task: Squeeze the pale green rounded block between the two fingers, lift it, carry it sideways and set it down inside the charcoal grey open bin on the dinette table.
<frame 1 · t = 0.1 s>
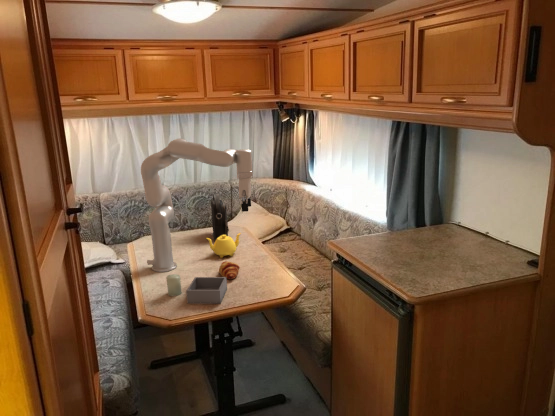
hand: (246, 208, 228), 31 cm above the table, tool pointing down, fingers open, 9 cm apart
bin: (207, 296, 204), on the table
shoulder bag: (220, 237, 287), on the table
pale green rounded block: (174, 293, 208), on the table
croissant: (229, 274, 229), on the table
teapot: (224, 254, 257), on the table
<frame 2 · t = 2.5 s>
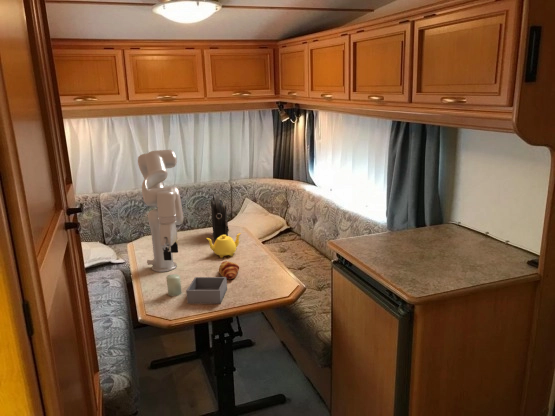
hand: (171, 256, 204), 18 cm above the table, tool pointing down, fingers open, 9 cm apart
nothing on the table moved.
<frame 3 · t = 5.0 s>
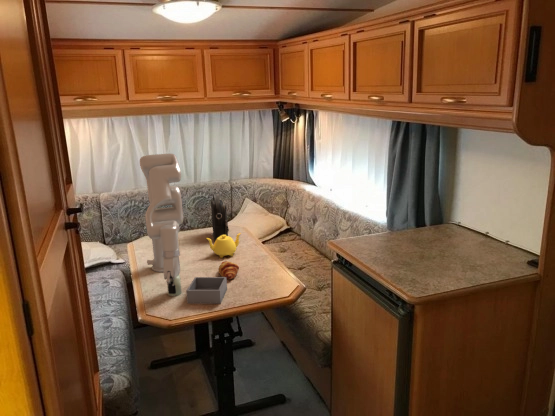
hand: (174, 289, 208), 2 cm above the table, tool pointing down, fingers closed on pale green rounded block, 6 cm apart
pale green rounded block: (174, 293, 208), on the table, touching gripper
everything else where it was.
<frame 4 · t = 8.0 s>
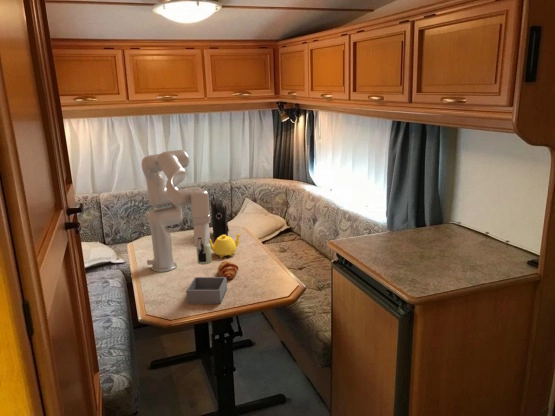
hand: (204, 258, 200), 18 cm above the table, tool pointing down, fingers closed on pale green rounded block, 6 cm apart
pale green rounded block: (204, 262, 200), point 16 cm above the table, touching gripper
everything else where it was.
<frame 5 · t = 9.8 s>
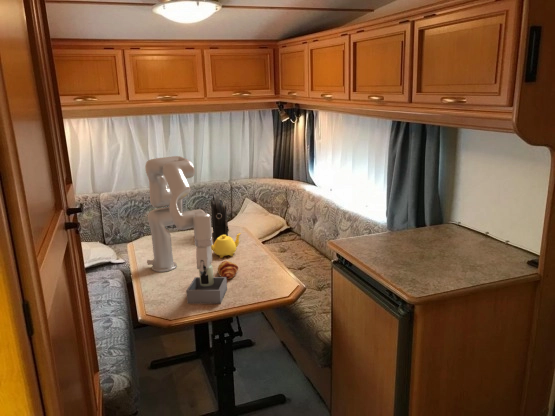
hand: (206, 280, 202), 8 cm above the table, tool pointing down, fingers closed on pale green rounded block, 6 cm apart
pale green rounded block: (207, 283, 203), point 6 cm above the table, touching gripper
everything else where it was.
when the fingers open (5 cm above the table, at t = 11.3 s): pale green rounded block drops 2 cm, resting on bin.
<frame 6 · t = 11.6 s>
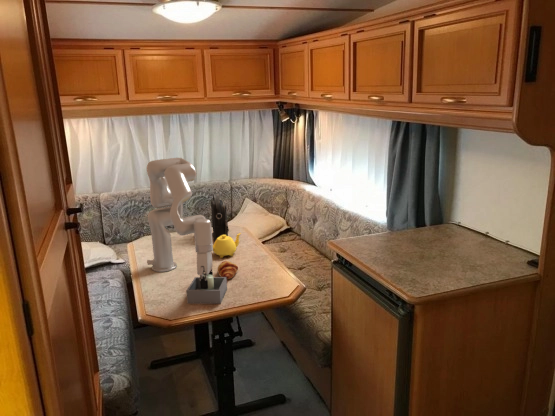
hand: (206, 284, 203), 6 cm above the table, tool pointing down, fingers open, 9 cm apart
pale green rounded block: (207, 293, 204), point 1 cm above the table, touching bin
everything else where it was.
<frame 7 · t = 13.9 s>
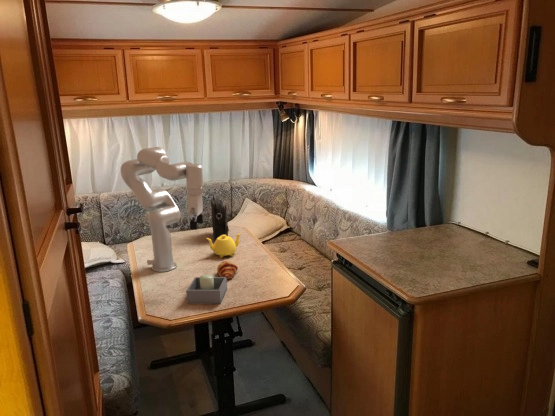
hand: (196, 226, 218), 27 cm above the table, tool pointing down, fingers open, 9 cm apart
nothing on the table moved.
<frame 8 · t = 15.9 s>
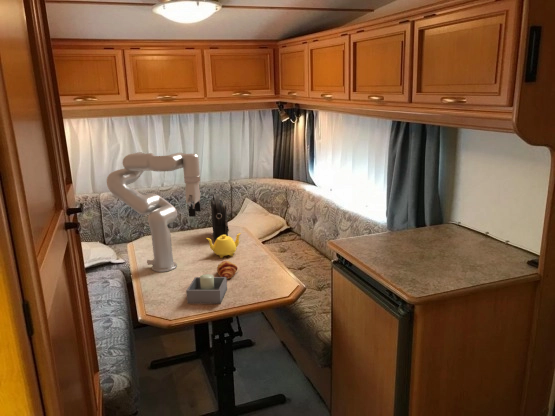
hand: (195, 213, 226), 30 cm above the table, tool pointing down, fingers open, 9 cm apart
at the end: pale green rounded block inside the target area on the bin (0.3 cm from its centre), point 1.1 cm above the bin's base; pale green rounded block tilted 2°; the gripper is holding nothing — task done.
